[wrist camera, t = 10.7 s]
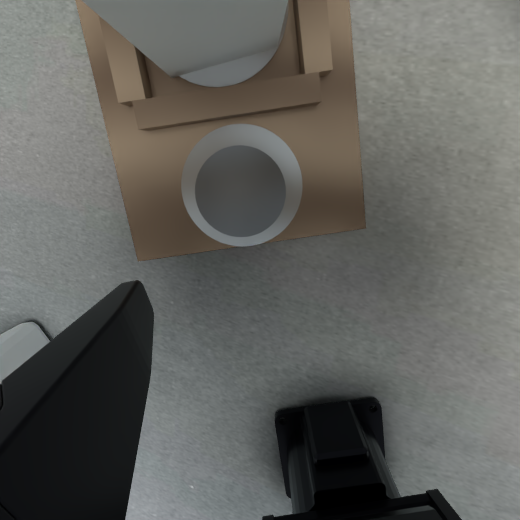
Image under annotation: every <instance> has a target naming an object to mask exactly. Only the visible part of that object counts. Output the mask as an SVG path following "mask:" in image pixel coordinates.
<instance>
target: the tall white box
mask: <svg viewBox="0 0 520 520" xmlns="http://www.w3.org/2000/svg"><path fill="white" fill-rule="evenodd" d="M82 1H83V2H84V3H85V4H86V5H87V6H89V7H90V8H91V9H92V10H93V11H94V12H96V13H97V14H98V15H99V16H100V17H101V18H103V19H104V20H105V21H106V22H107V23H108V24H110V25H111V26H112V27H113V28H114V29H115V30H117V31H118V32H119V33H120V34H121V35H122V36H123V37H125V38H126V39H127V40H128V41H129V42H130V43H132V44H133V45H134V46H135V47H136V48H137V49H139V50H140V51H141V52H142V53H143V54H144V55H146V56H147V57H148V58H149V59H150V60H151V61H153V62H154V63H155V64H156V65H157V66H158V67H160V68H161V69H162V70H163V71H164V72H165V73H167V74H168V75H169V76H170V77H171V78H174V77H177V76H181V75H184V74H188V73H191V72H195V71H198V70H201V69H205V68H208V67H212V66H215V65H219V64H222V63H226V62H229V61H232V60H236V59H239V58H243V57H246V56H250V55H253V54H256V53H260V52H263V51H267V50H270V49H274V48H277V46H278V42H279V38H280V33H281V29H282V25H283V20H284V16H285V12H286V7H287V3H288V0H82Z"/></svg>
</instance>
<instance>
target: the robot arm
mask: <svg viewBox="0 0 520 520" xmlns="http://www.w3.org/2000/svg"><path fill="white" fill-rule="evenodd" d="M153 327H154V312H153V308H152V305H151V303H150V301H149V298H148V296H147V293H146V291H145V288H144V286H143V284H142V283H141V282H140V281H138V280H136V281H130V282H125V283H122V284H120V285H119V286H118V287H117V288H115V289H114V290H113V291H112V292H110V293H109V294H108V295H107V296H105V297H104V298H103V299H102V300H101V301H99V302H98V303H97V304H96V305H94V306H93V307H92V308H91V309H89V310H88V311H87V312H86V313H85V314H83V315H82V316H81V317H80V318H78V319H77V320H76V321H75V322H73V323H72V324H71V325H70V326H69V327H67V328H66V329H65V330H64V331H62V332H61V333H60V334H59V335H57V336H56V337H55V338H54V339H53V340H51V341H50V342H49V343H48V344H46V345H45V346H44V347H43V348H42V349H40V350H39V351H38V352H37V353H35V354H34V355H33V356H32V357H30V358H29V359H28V360H27V361H26V362H24V363H23V364H22V365H21V366H19V367H18V368H17V369H16V370H14V371H13V372H12V373H11V374H10V375H8V376H7V377H6V378H5V379H3V380H2V382H1V384H0V520H125V517H126V511H127V506H128V500H129V495H130V489H131V483H132V478H133V472H134V467H135V461H136V455H137V450H138V444H139V439H140V433H141V427H142V422H143V416H144V411H145V405H146V399H147V394H148V388H149V382H150V376H151V365H152V346H153ZM372 405H375V407H374V408H370V406H372ZM282 417H283V418H286V419H285V420H280V418H282ZM275 426H276V432H277V439H278V445H279V451H280V457H281V464H282V470H283V476H284V483H285V489H286V494H287V496H288V497H289V498H291V499H292V509H293V514H290V515H283V516H277V517H274V516H273V515H268V516H263V517H262V520H462V519H461V518H460V517H459V516H458V514H457V513H456V512H455V511H454V509H453V508H452V507H451V506H450V504H449V503H448V502H447V501H446V499H445V498H444V497H443V495H442V494H441V493H440V492H439V490H438V489H434V490H427V491H426V493H424V494H417V495H411V496H405V497H400V494H399V492H398V489H397V487H396V485H395V482H394V480H393V478H392V475H391V473H390V470H389V468H388V466H387V463H386V461H385V450H384V436H383V422H382V408H381V405H380V403H379V401H378V400H377V399H375V398H366V399H359V400H351V401H341V402H334V403H326V404H319V405H311V406H306V407H299V408H292V409H284V410H279V411H278V412H276V414H275Z"/></svg>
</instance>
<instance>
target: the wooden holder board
mask: <svg viewBox="0 0 520 520" xmlns="http://www.w3.org/2000/svg"><path fill="white" fill-rule="evenodd" d="M76 5H77V9H78V13H79V17H80V21H81V25H82V30H83V34H84V38H85V42H86V46H87V51H88V55H89V59H90V63H91V67H92V71H93V76H94V80H95V84H96V88H97V92H98V96H99V101H100V105H101V109H102V113H103V117H104V122H105V126H106V130H107V134H108V138H109V142H110V147H111V151H112V155H113V159H114V163H115V167H116V172H117V176H118V180H119V184H120V188H121V193H122V197H123V201H124V205H125V209H126V213H127V218H128V222H129V226H130V230H131V234H132V238H133V243H134V247H135V251H136V255H137V259H138V261H144V260H151V259H158V258H165V257H172V256H179V255H186V254H193V253H200V252H206V251H213V250H220V249H227V248H234V247H241V246H243V247H244V246H253V245H258V244H262V243H268V242H275V241H282V240H289V239H296V238H303V237H310V236H317V235H324V234H330V233H337V232H344V231H351V230H358V229H365V228H366V222H365V209H364V195H363V181H362V168H361V154H360V140H359V127H358V113H357V99H356V86H355V72H354V58H353V45H352V31H351V17H350V3H349V0H288V3H287V7H286V12H285V16H284V20H283V25H282V29H281V33H280V38H279V42H278V46H277V48H274V49H270V50H267V51H263V52H260V53H256V54H253V55H250V56H246V57H243V58H239V59H236V60H232V61H229V62H226V63H222V64H219V65H215V66H212V67H208V68H205V69H201V70H198V71H195V72H191V73H188V74H184V75H181V76H177V77H174V78H171V77H170V76H169V75H168V74H167V73H165V72H164V71H163V70H162V69H161V68H160V67H158V66H157V65H156V64H155V63H154V62H153V61H151V60H150V59H149V58H148V57H147V56H146V55H144V54H143V53H142V52H141V51H140V50H139V49H137V48H136V47H135V46H134V45H133V44H132V43H130V42H129V41H128V40H127V39H126V38H125V37H123V36H122V35H121V34H120V33H119V32H118V31H117V30H115V29H114V28H113V27H112V26H111V25H110V24H108V23H107V22H106V21H105V20H104V19H103V18H101V17H100V16H99V15H98V14H97V13H96V12H94V11H93V10H92V9H91V8H90V7H89V6H87V5H86V4H85V3H84V2H83V1H82V0H76Z"/></svg>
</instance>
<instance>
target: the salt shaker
mask: <svg viewBox="0 0 520 520" xmlns="http://www.w3.org/2000/svg"><path fill="white" fill-rule="evenodd" d="M49 342H50V340H49V339H48V338H47V336H46V335H45V334H44V332H43V331H42V330H41V329H40V327H39V326H38V325H37V324H35V323H34V322H27V323H21V324H19V325H17V326H15V327H13V328H11V329H10V330H8V331H6V332H4V333H2V334H0V384H1V382H2V380H3V379H5V378H6V377H7V376H8V375H10V374H11V373H12V372H13V371H14V370H16V369H17V368H18V367H19V366H21V365H22V364H23V363H24V362H26V361H27V360H28V359H29V358H30V357H32V356H33V355H34V354H35V353H37V352H38V351H39V350H40V349H42V348H43V347H44V346H45V345H46V344H48V343H49Z"/></svg>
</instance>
